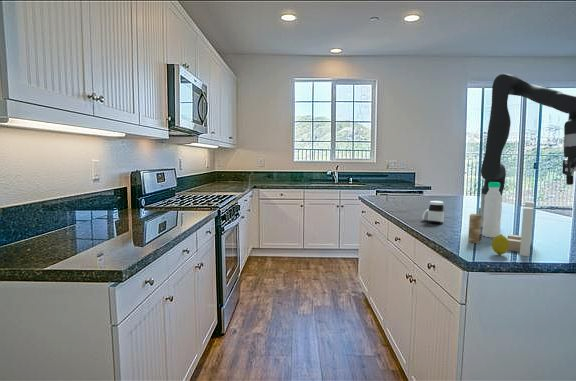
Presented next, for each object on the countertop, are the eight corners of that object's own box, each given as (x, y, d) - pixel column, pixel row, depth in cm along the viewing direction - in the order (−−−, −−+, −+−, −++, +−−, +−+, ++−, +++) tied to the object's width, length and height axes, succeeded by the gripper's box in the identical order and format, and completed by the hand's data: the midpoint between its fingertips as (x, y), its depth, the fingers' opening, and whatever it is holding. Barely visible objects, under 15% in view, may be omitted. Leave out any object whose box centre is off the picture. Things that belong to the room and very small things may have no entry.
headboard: (504, 252, 137) (507, 206, 135) (508, 241, 154) (511, 200, 152) (529, 256, 132) (533, 208, 130) (530, 243, 150) (534, 201, 148)
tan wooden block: (468, 242, 152) (469, 214, 151) (469, 240, 155) (471, 213, 154) (480, 244, 149) (481, 216, 148) (481, 242, 153) (483, 214, 151)
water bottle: (497, 235, 165) (501, 181, 162) (501, 238, 158) (505, 183, 155) (480, 234, 167) (484, 181, 164) (483, 237, 160) (487, 182, 157)
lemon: (487, 253, 136) (489, 232, 135) (501, 252, 137) (502, 232, 136) (497, 257, 131) (498, 236, 130) (511, 257, 131) (513, 236, 130)
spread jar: (441, 225, 187) (442, 203, 185) (419, 222, 193) (420, 201, 191) (445, 221, 197) (446, 200, 195) (424, 219, 203) (425, 199, 201)
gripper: (574, 146, 154) (574, 183, 154) (555, 146, 148) (555, 184, 148) (595, 144, 147) (595, 183, 147) (576, 144, 141) (576, 184, 141)
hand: (575, 184), depth 148 cm, fingers open, 8 cm apart
